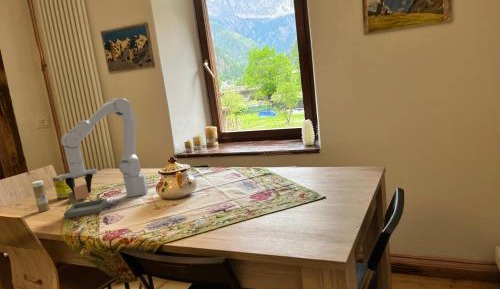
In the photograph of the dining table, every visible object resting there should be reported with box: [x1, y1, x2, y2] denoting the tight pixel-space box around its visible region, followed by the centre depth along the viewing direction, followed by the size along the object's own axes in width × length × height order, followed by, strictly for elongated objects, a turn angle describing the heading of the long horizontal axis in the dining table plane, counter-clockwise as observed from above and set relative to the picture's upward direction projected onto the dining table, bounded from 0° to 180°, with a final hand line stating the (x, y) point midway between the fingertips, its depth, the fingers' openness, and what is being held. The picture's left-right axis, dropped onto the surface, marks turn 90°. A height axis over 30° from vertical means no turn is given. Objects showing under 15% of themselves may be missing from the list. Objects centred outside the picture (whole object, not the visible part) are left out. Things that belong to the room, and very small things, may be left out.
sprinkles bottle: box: [31, 180, 51, 213], centre depth 171 cm, size 5×5×14 cm
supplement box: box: [52, 174, 71, 200], centre depth 188 cm, size 6×6×11 cm
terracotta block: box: [74, 182, 92, 200], centre depth 161 cm, size 5×5×5 cm
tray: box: [63, 198, 108, 220], centre depth 162 cm, size 14×12×2 cm
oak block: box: [67, 190, 88, 204], centre depth 182 cm, size 7×7×5 cm
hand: (82, 193), depth 161 cm, fingers closed on terracotta block, 5 cm apart
